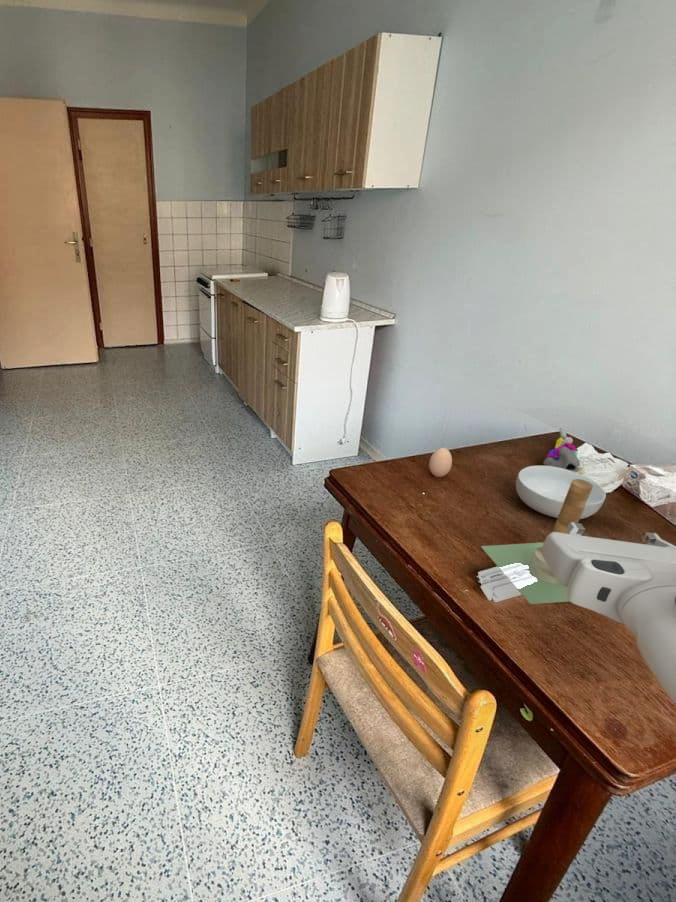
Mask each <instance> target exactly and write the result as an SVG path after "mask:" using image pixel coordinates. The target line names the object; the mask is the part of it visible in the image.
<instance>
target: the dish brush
mask: <svg viewBox="0 0 676 902" xmlns="http://www.w3.org/2000/svg"><path fill="white" fill-rule="evenodd" d="M592 488H593V485H592V484H591V483H589V482H587V481H585V480H580V479H574V480H572V482H571V485H570V487H569V490H568V493H567V495H566V498H565V500H564V503H563V506H562V508H561V511H560V513H559V516H558V518H556V522H555V523H554V526H553V529H552V531H551V533H552V532H559V533H566V534H568V532H567V527H568V525H569V523H570V522H573V523H579V521H580V520H581V519H580V517H581V514H582V512H583V510H584V507H585V505H586V502H587V500H588V498H589V495H590V493H591V490H592ZM542 548H543V547H538V548H536V549H535V551H534V554H533V557H532V559H531V562H530V565H529V570H530V572H531V573H532V574H533V575H534V576H535V577H536V578H538V579H540V580H542V581H544V582H547V583H552V584H560V582H559V581H558V580H557V579H556V578H555V577H554V575H553V574H552V572H551V571H550V569H549V567H548V565H547V563H546V561H545V559H544V557H543V554H542Z"/></svg>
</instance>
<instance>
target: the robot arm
mask: <svg viewBox="0 0 676 902" xmlns="http://www.w3.org/2000/svg"><path fill="white" fill-rule="evenodd" d="M585 530H586V528H585V527H584V526H583V524H582V523H579V522H578V523H573V522H570V523H569V525H568V527H567V532H568V534H566V533H559V532H552V531H551V532H550V533H549V534H547V535H546V537H545V540H544V541H543V542H544V545H543V548H542V554H543V557H544V559H545V561H546V563H547V565H548V567H549V569H550V571H551V572H552V574H553V575H554V577H555V578H556V579H557V580H558V581H559V582H560V583H561V584H562V585H564V586H566V587H567V591H566V596H567V598H568V600H569V601H568V602H569V603H571V604H573V605H575V606H578V607H581V608H583V609H587V610H589V611H593V612H595V613H597V614H599V615H602V616H605V617H606V618H609V619H611V620H613V621H615V622H617V623H619V624H622V625H623V626H624V627H625V629H626V630H627V631H628V632H629V634H631V635H632V636H633V637H634V639H635V641H636V642H635V643H636V646H637V650H638V652H639V655H641V657H642V659H643V661H644V663H645V665H646V666H647V668H648V669H649V670H650V672H651V674H652V675H653V677H654V678H655V680H656V681H657V683H658V684H659V686H660V687H661V688H662V690H663V691H664V693H665V695H667V696H668V698H670V700H671V701H672V702H673V703H674V704H675V705H676V545H675V544H672V543H670V542H668V541H666V540H664V539H662V538H661V537H660V535H658V533H656V532H649V531H643V532H641V533H642V535H641V536H640V538H639V542H640V543H637V542H631V541H624V540H617V539H616V540H615V539H608V538H601V537H593V536H588V535H583V534H584V533H585Z"/></svg>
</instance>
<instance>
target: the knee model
mask: <svg viewBox="0 0 676 902" xmlns="http://www.w3.org/2000/svg"><path fill="white" fill-rule="evenodd" d="M558 432H559V434H560V437H559V438H558V439H557V440H556V442H555V446H554V448H553V449H550V450H549V451H548V453H547V455H546V456H545V459H544V460H543V461H542V464H543V466H553V467H558V468H563V469H567V470H570V471H573V472H576V473H579V474H581V475H584V474H585V473H586V468H585V467H582V466H581V462H580V460H579V458H578V453H579V450H578V448H577V447H576V446H575V445H574V444H573V442H574V440H573V438H572V437H571V436H567V432H566V430H565V429H563V427H560V428H559V431H558Z"/></svg>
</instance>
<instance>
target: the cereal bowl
mask: <svg viewBox="0 0 676 902" xmlns="http://www.w3.org/2000/svg"><path fill="white" fill-rule="evenodd" d="M574 479H580V480H585V481H587V482H589V483H591V484H592V485H593V488H592V490H591V493H590V495H589V498H588V500H587V502H586V505H585V507H584V510H583V512H582V514H581V517H580V519H579V520H582V519H583V520H584V519H587V518H589V517H591V516H593V515H595V514H596V513H597V512H598V511H599V510H600V509H601V508H602V506H603V504H604V503H605V500H606V498H607V493H606V491H605V489H604V487H602V486H601V485H599V484H598V483H597V482H596V481H594V479H593V480H592V479H591V478H589V477H588V476H586V475H584V474H582V475H581V474H579V473H576V472H573V471H570V470H567V469H563V468H558V467H553V466H546V465H529V466H526V467H524V468H522V469H520V470H519V472H518V474H517V476H516V479H515V489H516V493H517V496H518V497H519V498H520V500H521V501H522V502H523V503H524V504H525V505H526V506H528V507H529V508H530V509H532V510H534V511H536V512H538V513H539V514H543V515H545V516H548V517H551V518H556V519H557V518H558V516H559V513H560V511H561V508H562V506H563V503H564V500H565V498H566V495H567V493H568V490H569V487H570V485H571V482H572V480H574Z"/></svg>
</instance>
